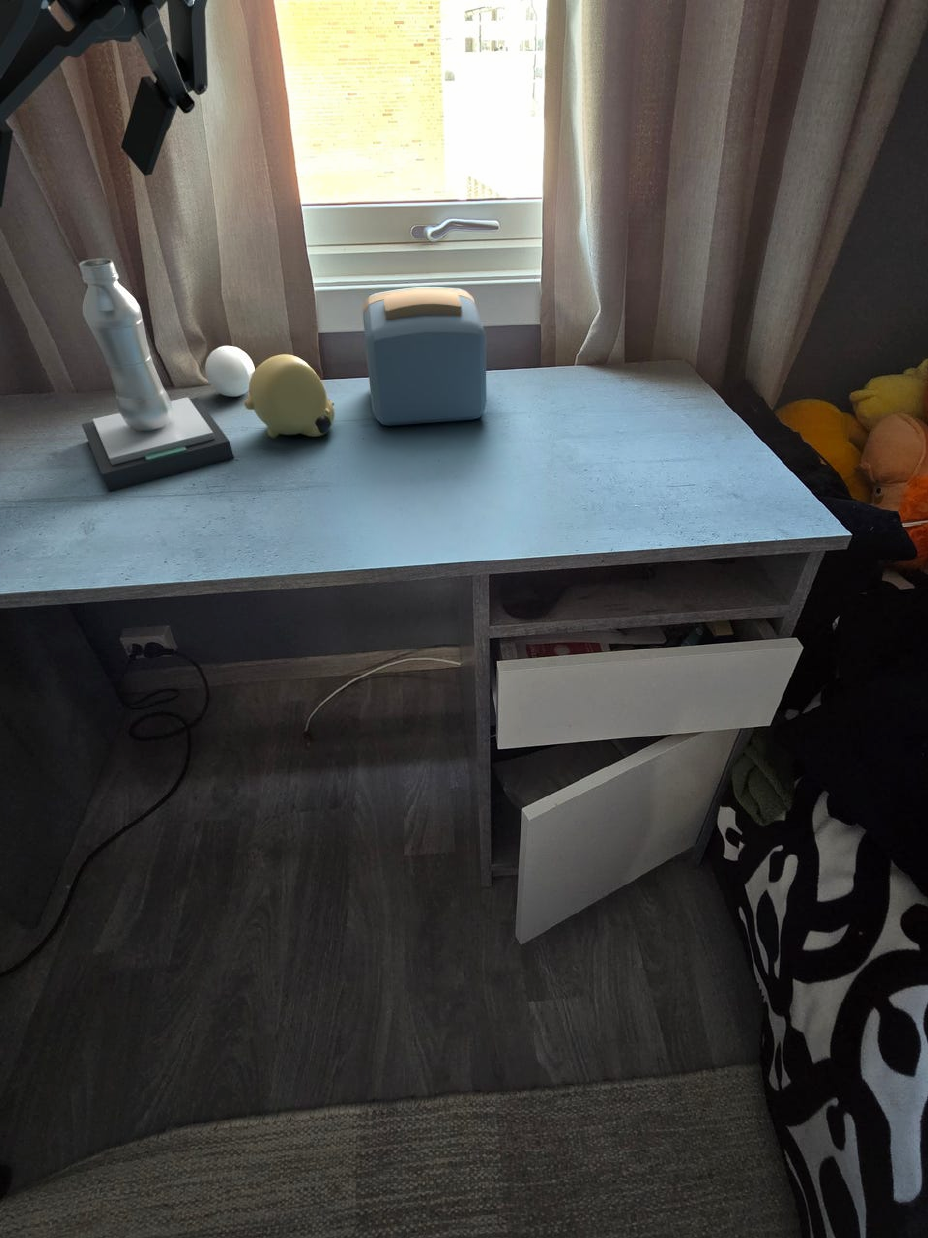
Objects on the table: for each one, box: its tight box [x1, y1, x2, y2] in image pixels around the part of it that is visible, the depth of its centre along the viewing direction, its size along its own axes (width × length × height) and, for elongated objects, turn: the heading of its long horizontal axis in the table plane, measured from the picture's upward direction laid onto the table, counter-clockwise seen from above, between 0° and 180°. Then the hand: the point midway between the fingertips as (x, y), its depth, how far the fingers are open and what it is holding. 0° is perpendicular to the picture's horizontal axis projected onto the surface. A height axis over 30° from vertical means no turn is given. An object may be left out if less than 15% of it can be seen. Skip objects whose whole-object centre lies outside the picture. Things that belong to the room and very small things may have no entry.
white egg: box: [204, 345, 257, 398], centre depth 106 cm, size 10×7×7 cm
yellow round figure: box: [244, 353, 336, 438], centre depth 95 cm, size 10×12×11 cm
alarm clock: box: [362, 286, 487, 427], centre depth 99 cm, size 16×16×16 cm
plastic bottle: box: [78, 257, 173, 431], centre depth 85 cm, size 6×7×20 cm
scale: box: [81, 396, 235, 492], centre depth 93 cm, size 16×16×4 cm
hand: (65, 175), depth 52 cm, fingers open, 13 cm apart
